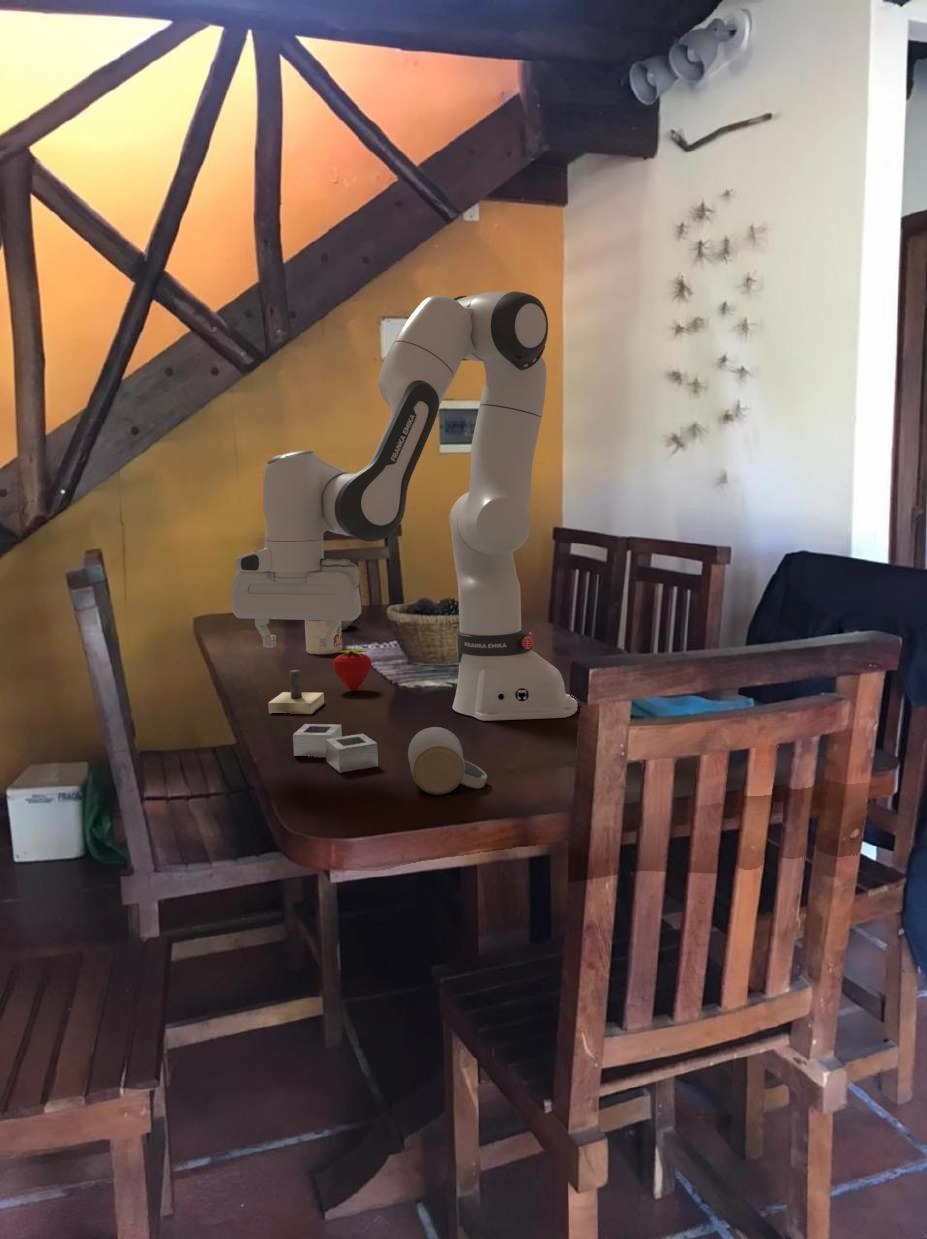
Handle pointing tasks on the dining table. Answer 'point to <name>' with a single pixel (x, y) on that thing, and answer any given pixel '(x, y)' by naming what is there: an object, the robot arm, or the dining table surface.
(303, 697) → the block
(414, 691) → the dining table surface
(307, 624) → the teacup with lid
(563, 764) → the dining table surface
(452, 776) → the ceramic mug
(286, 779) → the dining table surface
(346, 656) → the strawberry
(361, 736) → the white square box
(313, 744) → the end link
